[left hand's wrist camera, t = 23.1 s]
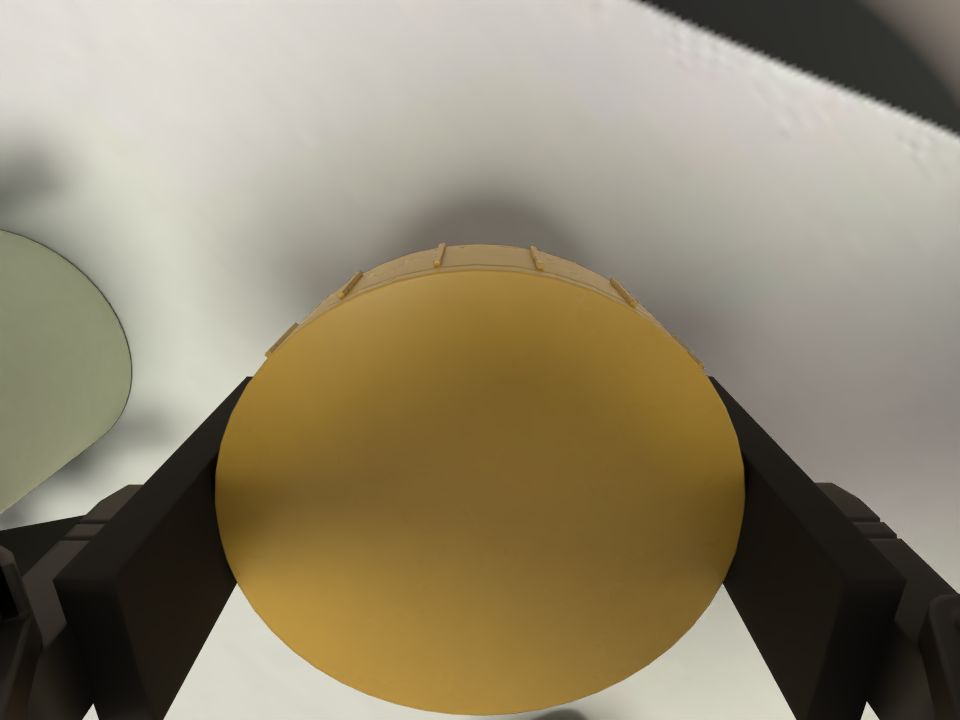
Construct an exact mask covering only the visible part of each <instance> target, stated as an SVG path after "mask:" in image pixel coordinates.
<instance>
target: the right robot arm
mask: <svg viewBox="0 0 960 720" xmlns="http://www.w3.org/2000/svg"><path fill="white" fill-rule="evenodd" d="M84 516H85V515H82V516H77V517H72V518H66V519H61V520H56V521H50V522H45V523H40V524H34V525H29V526H23V527H18V528H13V529H7V530H2V531H0V546H3V547H4V548H6V549H8V550H9V551H11V552H12V553H13V556H14V559H15V562H16V564H17V567H18V570H19V573H20V576H21V577H22V576H23V575H24V574H25V573H26V572H28V571H29V570H30V569H31V568H32V567H33V566H34V565H35V564H36V563H37V562H38V561H39V560H40V559H41V558H42V557H43V556H44V555H45V554H46V553H47V552H48V551H49V550H50V549H51V548H52V547H53V546H54V545H55V544H56V543H57V542H59V541H63V539H64V536H65V535H66V534H67V533H68V532H69V531H70V530H71V529H72V528H73V527H74V526H75V525H76V524H80V520H81V519H82V518H83V517H84Z"/></svg>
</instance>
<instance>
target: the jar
mask: <svg viewBox="0 0 960 720" xmlns="http://www.w3.org/2000/svg"><path fill="white" fill-rule="evenodd" d="M130 383H131V361H130V355H129V349H128V345H127V342H126V339H125V335H124V333H123V330H122V328H121V326H120V323H119V321H118V319H117V317H116V316H115V314H114V312H113V310H112V309H111V307H110V305H109V304H108V302H107V301H106V300H105V298H104V297H103V296H102V294H101V293H100V292H99V290H98V289H97V288H96V287H95V286H94V285H93V284H92V283H91V282H90V280H89V279H88V278H87V277H86V276H85V275H84V274H82V273H81V272H80V271H79V270H78V269H77V268H76V267H74V266H73V265H72V264H71V263H69V262H68V261H67V260H65V259H64V258H62V257H61V256H60V255H58V254H57V253H55V252H53V251H51V250H50V249H48V248H46V247H44V246H43V245H41V244H39V243H36V242H34V241H32V240H30V239H27V238H25V237H22V236H19V235H16V234H13V233H9V232H6V231H2V230H0V514H2V513H3V512H4V511H6V510H7V509H8V508H10V507H11V506H12V505H13V504H15V503H16V502H17V501H19V500H20V499H21V498H23V497H24V496H25V495H26V494H28V493H29V492H30V491H32V490H33V489H34V488H36V487H37V486H38V485H40V484H41V483H42V482H43V481H45V480H46V479H47V478H49V477H50V476H51V475H53V474H54V473H55V472H56V471H58V470H59V469H60V468H62V467H63V466H64V465H66V464H67V463H68V462H70V461H71V460H72V459H73V458H75V457H76V456H77V455H79V454H80V453H81V452H83V451H84V450H85V449H86V448H88V447H89V446H90V445H92V444H93V443H94V442H96V441H97V440H98V439H100V438H101V437H102V436H103V435H104V434H105V433H106V432H107V431H108V430H109V429H111V428H112V426H113V425H114V424H115V422H116V421H117V420H118V418H119V417H120V415H121V413H122V411H123V409H124V407H125V405H126V401H127V398H128V395H129V391H130Z"/></svg>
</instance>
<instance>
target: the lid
mask: <svg viewBox="0 0 960 720" xmlns="http://www.w3.org/2000/svg"><path fill="white" fill-rule="evenodd" d="M265 356H267V357H268V358H267V360H266V361H265V362H264V363H263V365H262V366H261V367H260V369H259V370H258V371H257V372H256V374H255V375H254V376H253V378H252V379H251V380H250V382H249V383H248V384H247V386H246V388H245V390H244V391H243V393H242V395H241V397H240V399H239V400H238V402H237V404H236V406H235V408H234V410H233V411H232V413H231V416H230V419H229V422H228V424H227V427H226V430H225V433H224V436H223V438H222V441H221V445H220V451H219V456H218V461H217V467H216V472H215V509H216V516H217V522H218V527H219V533H220V537H221V542H222V546H223V549H224V552H225V556H226V559H227V562H228V564H229V566H230V568H231V570H232V572H233V575H234V577H235V579H236V581H237V583H238V586H239V587H240V589H241V590H242V592H243V593H244V595H245V597H246V598H247V600H248V601H249V603H250V604H251V606H252V608H253V609H254V610H255V612H256V613H257V614H258V615H259V616H260V618H261V619H262V620H263V621H264V622H265V624H266V625H267V626H268V627H269V628H270V630H271V631H272V632H273V633H274V634H275V635H276V636H277V637H279V638H280V639H281V640H282V641H283V642H284V643H285V644H286V645H287V646H288V647H289V648H290V649H291V650H292V651H294V652H295V653H296V654H298V655H299V656H300V657H302V658H303V659H304V660H306V661H307V662H308V663H310V664H311V665H313V666H314V667H315V668H317V669H318V670H320V671H322V672H324V673H325V674H327V675H329V676H330V677H332V678H334V679H336V680H337V681H339V682H341V683H343V684H345V685H347V686H350V687H352V688H354V689H356V690H358V691H361V692H363V693H365V694H367V695H370V696H373V697H376V698H379V699H382V700H385V701H388V702H391V703H394V704H398V705H402V706H406V707H411V708H415V709H420V710H424V711H431V712H439V713H446V714H455V715H501V714H515V713H521V712H528V711H534V710H541V709H545V708H549V707H553V706H557V705H561V704H565V703H569V702H572V701H575V700H578V699H581V698H583V697H586V696H589V695H592V694H595V693H597V692H600V691H602V690H604V689H606V688H608V687H610V686H612V685H614V684H616V683H618V682H621V681H623V680H625V679H626V678H628V677H629V676H631V675H633V674H634V673H636V672H638V671H639V670H641V669H643V668H644V667H646V666H647V665H649V664H650V663H652V662H653V661H654V660H655V659H657V658H658V657H659V656H661V655H662V654H663V653H664V652H666V651H667V650H668V649H670V648H671V647H672V646H673V645H674V644H675V643H676V642H677V641H678V640H679V639H680V638H681V637H682V636H683V635H684V634H685V633H686V632H687V631H688V630H689V629H690V628H691V627H692V626H693V625H694V624H695V622H696V621H697V620H698V619H699V617H700V616H701V615H702V614H703V612H704V611H705V610H706V608H707V607H708V606H709V605H710V603H711V601H712V600H713V598H714V596H715V595H716V593H717V591H718V590H719V588H720V586H721V585H722V583H723V581H724V579H725V577H726V575H727V572H728V570H729V568H730V565H731V563H732V561H733V558H734V556H735V553H736V549H737V544H738V539H739V535H740V530H741V525H742V519H743V513H744V507H745V479H744V465H743V460H742V456H741V451H740V447H739V442H738V438H737V434H736V432H735V429H734V427H733V424H732V422H731V419H730V417H729V414H728V412H727V409H726V407H725V405H724V403H723V402H722V400H721V398H720V397H719V395H718V393H717V391H716V390H715V388H714V386H713V385H712V383H711V381H710V380H709V378H708V377H707V376H706V374H705V373H704V372H703V371H702V370H701V369H703V368H704V366H703V364H702V363H701V362H700V361H699V360H698V359H697V358H696V357H695V356H694V355H693V354H692V353H691V352H690V351H689V350H688V348H687V347H686V346H685V345H684V344H683V343H682V342H681V341H680V340H679V339H678V338H677V337H676V336H675V335H674V334H673V333H672V334H669V333H668V332H667V330H666V329H665V328H664V327H663V326H662V325H661V324H660V323H659V322H658V321H657V320H656V319H655V318H654V317H653V316H652V315H651V314H650V313H649V312H648V311H647V310H646V309H645V308H644V307H643V306H641V305H640V304H639V303H638V302H637V301H636V300H635V299H634V298H633V297H632V296H631V295H630V294H629V293H628V292H627V291H626V290H625V289H624V287H623V286H622V285H621V284H620V283H619V282H618V281H617V280H616V279H614V278H612V279H611V280H610V281H609V280H607V279H606V278H604V277H603V276H601V275H599V274H597V273H595V272H593V271H591V270H589V269H587V268H585V267H583V266H581V265H579V264H577V263H574V262H572V261H569V260H566V259H563V258H560V257H557V256H554V255H551V254H548V253H545V252H541V251H538V250H537V248H536V246H531V245H530V248H529V249H525V248H519V247H514V246H505V245H486V244H470V245H458V246H446V244H445V243H440V244H439V247H438V248H435V249H430V250H425V251H421V252H416V253H411V254H408V255H406V256H403V257H400V258H397V259H395V260H392V261H389V262H386V263H383V264H381V265H379V266H377V267H375V268H373V269H371V270H369V271H367V272H365V273H362V272H361V270H360V271H358V272H356V273H355V274H354V275H353V276H352V278H351V279H350V280H349V281H348V282H347V283H346V284H345V285H344V286H342V287H341V288H339V289H338V290H337V291H335V292H334V293H332V294H331V295H330V296H328V297H327V298H326V299H325V300H324V301H323V302H322V303H321V304H320V305H319V306H317V307H316V308H315V309H314V310H313V311H312V312H311V313H310V314H309V315H308V316H307V317H306V318H305V319H304V320H303V321H302V322H301V323H300V324H297V323H295V324H294V325H293V326H292V327H291V328H290V329H289V330H288V331H287V332H286V333H285V334H284V335H283V336H282V337H281V338H280V339H279V340H278V341H277V342H276V343H275V344H274V345H273V346H272V347H271V348H270V349H269V350H268V351H267V353H266V354H265Z"/></svg>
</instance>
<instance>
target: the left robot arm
mask: <svg viewBox="0 0 960 720" xmlns="http://www.w3.org/2000/svg"><path fill="white" fill-rule="evenodd" d="M252 378H253V377H246V378H245V379H244V380H243V381H242V382H241V383H240V384H239V386H238V387H237V388H236V389H235V390H234V391H233V392H232V393H231V394H230V395H229V396H228V397H227V398H226V399H225V400H224V401H223V402H222V403H221V404H220V405H219V406H218V407H217V408H216V410H215V411H214V412H213V413H212V414H211V415H210V416H209V417H208V418H207V419H206V420H205V421H204V422H203V423H202V424H201V425H200V426H199V427H198V428H197V429H196V430H195V431H194V432H193V434H192V435H191V436H190V437H189V438H188V439H187V440H186V441H185V442H184V443H183V444H182V445H181V446H180V447H179V448H178V449H177V450H176V451H175V452H174V453H173V454H172V455H171V456H170V458H169V459H168V460H167V461H166V462H165V463H164V464H163V465H162V466H161V467H160V468H159V469H158V470H157V471H156V472H155V473H154V474H153V475H152V476H151V477H150V478H149V479H148V480H147V482H146V483H145V484H144V485H127V486H125V487H124V488H122V489H120V490H118V491H117V492H115V493H113V494H112V495H110V496H108V497H106V498H105V499H103V500H101V501H100V502H99V503H98V504H97V505H96V506H95V507H94V508H93V509H92V510H91V511H90V512H88V513H87V514H86V515H85V516H84V517H83V518H82V519H81V520H80V524H76V525H75V526H74V527H73V528H72V529H71V530H70V531H69V532H68V533H67V534H66V535H65V536H64V539H63V541H59V542H57V543H56V544H55V545H54V546H53V547H52V548H51V549H50V550H49V551H48V552H47V553H46V554H45V555H44V556H43V557H42V558H41V559H40V560H39V561H38V562H37V563H36V564H35V565H34V566H33V567H32V568H31V569H30V570H29V571H28V572H26V573H25V574H24V575H23V576H22V577H21V576H20V573H19V570H18V567H17V564H16V562H15V559H14V556H13V553H12V552H11V551H9V550H8V549H6V548H4V547H3V546H0V720H82V719H83V718H84V716H85V715H86V713H87V712H88V710H89V709H90V707H91V706H92V705H93V703H94V706H95V709H96V712H97V715H98V718H99V720H163V719H164V717H165V715H166V714H167V712H168V710H169V708H170V706H171V704H172V702H173V701H174V699H175V697H176V695H177V693H178V691H179V689H180V688H181V686H182V684H183V682H184V680H185V678H186V676H187V675H188V673H189V671H190V669H191V667H192V665H193V664H194V662H195V660H196V658H197V656H198V654H199V652H200V651H201V649H202V647H203V645H204V643H205V641H206V639H207V638H208V636H209V634H210V632H211V630H212V628H213V627H214V625H215V623H216V621H217V619H218V617H219V615H220V614H221V612H222V610H223V608H224V606H225V604H226V602H227V601H228V599H229V597H230V595H231V593H232V591H233V589H234V588H235V586H236V584H237V581H236V579H235V577H234V575H233V572H232V570H231V568H230V566H229V564H228V562H227V559H226V556H225V552H224V549H223V546H222V542H221V537H220V533H219V527H218V522H217V516H216V509H215V472H216V467H217V461H218V456H219V451H220V445H221V441H222V438H223V436H224V433H225V430H226V427H227V424H228V422H229V419H230V416H231V413H232V411H233V410H234V408H235V406H236V404H237V402H238V400H239V399H240V397H241V395H242V393H243V391H244V390H245V388H246V386H247V384H248V383H249V382H250V380H251V379H252ZM708 378H709V380H710V381H711V383H712V385H713V386H714V388H715V390H716V391H717V393H718V395H719V397H720V398H721V400H722V402H723V403H724V405H725V407H726V409H727V412H728V414H729V417H730V419H731V422H732V424H733V427H734V429H735V432H736V434H737V438H738V442H739V447H740V451H741V456H742V460H743V465H744V479H745V507H744V513H743V519H742V525H741V530H740V535H739V539H738V544H737V549H736V553H735V556H734V558H733V561H732V563H731V565H730V568H729V570H728V572H727V575H726V577H725V579H724V581H723V585H724V586H725V588H726V590H727V592H728V594H729V596H730V598H731V599H732V601H733V603H734V605H735V607H736V609H737V611H738V612H739V614H740V616H741V618H742V620H743V622H744V624H745V625H746V627H747V629H748V631H749V633H750V635H751V636H752V638H753V640H754V642H755V644H756V646H757V648H758V649H759V651H760V653H761V655H762V657H763V659H764V661H765V662H766V664H767V666H768V668H769V670H770V672H771V674H772V675H773V677H774V679H775V681H776V683H777V685H778V686H779V688H780V690H781V692H782V694H783V696H784V698H785V699H786V701H787V703H788V705H789V707H790V709H791V711H792V712H793V714H794V716H795V718H796V720H861V717H862V714H863V711H864V708H865V705H866V702H868V703H869V705H870V706H871V708H872V709H873V711H874V712H875V714H876V715H877V717H878V718H879V720H960V594H958V593H957V592H956V591H955V590H954V589H953V588H952V587H951V586H950V585H949V584H948V583H947V582H946V581H945V580H944V579H942V578H941V577H940V576H939V575H938V574H937V573H936V572H935V571H934V570H933V569H932V568H931V567H930V566H929V565H928V564H927V563H926V562H925V561H924V560H923V559H922V558H921V557H920V556H919V555H918V554H916V553H915V552H914V551H913V550H912V549H911V548H910V547H909V546H908V545H907V544H906V543H905V542H904V541H903V540H902V539H897V534H896V533H895V532H894V531H893V530H891V529H890V528H889V527H888V526H887V525H886V524H885V523H884V522H880V518H879V517H878V516H877V515H876V514H875V513H874V512H873V511H872V510H871V509H870V508H869V507H868V506H867V505H865V504H864V503H863V502H862V501H861V500H860V499H859V498H857V497H855V496H854V495H852V494H850V493H848V492H847V491H845V490H843V489H842V488H840V487H838V486H836V485H835V484H833V483H814V482H813V481H812V480H811V479H810V478H809V477H808V476H807V475H806V474H805V473H804V472H803V470H802V469H801V468H800V467H799V466H798V465H797V464H796V463H795V462H794V461H793V460H792V459H791V458H790V457H789V456H788V455H787V454H786V453H785V452H784V451H783V450H782V449H781V448H780V446H779V445H778V444H777V443H776V442H775V441H774V440H773V439H772V438H771V437H770V436H769V435H768V434H767V433H766V432H765V431H764V430H763V429H762V428H761V427H760V426H759V425H758V424H757V422H756V421H755V420H754V419H753V418H752V417H751V416H750V415H749V414H748V413H747V412H746V411H745V410H744V409H743V408H742V407H741V406H740V405H739V404H738V403H737V402H736V401H735V400H734V398H733V397H732V396H731V395H730V394H729V393H728V392H727V391H726V390H725V389H724V388H723V387H722V386H721V385H720V384H719V383H718V382H717V381H716V380H715V379H714V378H713V377H708Z"/></svg>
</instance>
